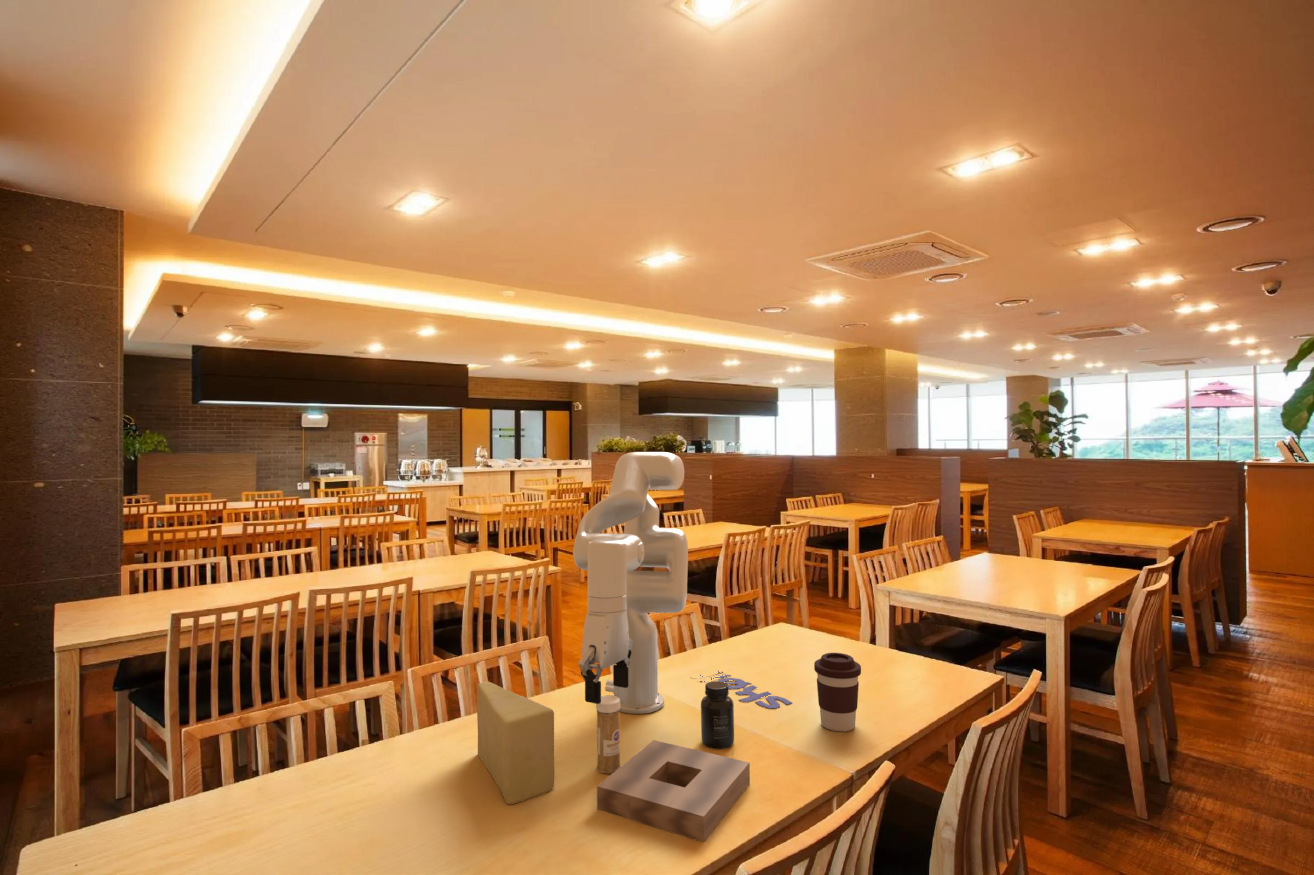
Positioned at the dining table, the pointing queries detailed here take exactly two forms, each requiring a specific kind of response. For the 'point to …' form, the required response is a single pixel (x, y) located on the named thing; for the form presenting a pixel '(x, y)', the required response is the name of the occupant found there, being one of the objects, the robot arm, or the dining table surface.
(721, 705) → the supplement bottle
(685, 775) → the walnut holder
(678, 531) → the robot arm
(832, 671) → the coffee cup
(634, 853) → the dining table surface
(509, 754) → the cheese
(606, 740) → the sprinkles bottle
